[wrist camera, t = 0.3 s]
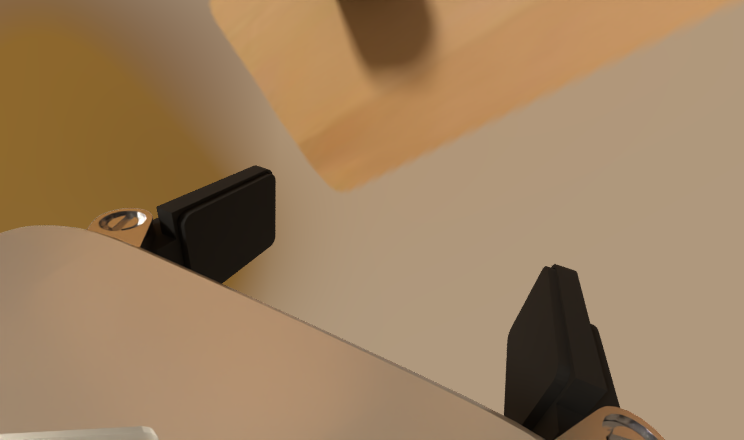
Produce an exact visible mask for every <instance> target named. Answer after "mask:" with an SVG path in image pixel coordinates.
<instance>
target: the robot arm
mask: <svg viewBox="0 0 744 440" xmlns="http://www.w3.org/2000/svg"><path fill="white" fill-rule="evenodd" d="M157 212H158V217H159V218H156V219H154V220H153V216H152V215H151V213H150V212H148V211H146V210H142V209H136V208H126V209H119V210H114V211H110V212H107V213H104V214H102V215H100V216H98V217H97V218H96V219H95V220H94V221H93V222H92V223H91V224H90V226H89V227H88V228H87V229H86V230H85V229H80V228H73V227H63V226H27V227H22V228H17V229H13V230H10V231H6V232H3V233H0V440H665V439H664V438H663V437H662V436H661V435H660V434H659V433H658V432H657V431H656V430H655V429H654V428H653V427H652V426H650V425H649V424H648V423H646V422H645V421H644V420H643V419H641V418H640V417H638V416H636V415H634V414H632V413H631V412H629V411H627V410H624V409H621V408H620V406H619V402H618V399H617V396H616V392H615V388H614V385H613V381H612V377H611V374H610V370H609V367H608V363H607V360H606V356H605V352H604V349H603V345H602V342H601V338H600V335H599V332H598V329H597V327H595V326H594V325H592V324H590V321H589V317H588V313H587V309H586V305H585V301H584V298H583V294H582V290H581V286H580V282H579V279H578V274H577V272H576V271H574V270H571V269H568V268H565V267H562V266H559V265H556V264H554V265H553V266H552V267H551V268H550V267H547V266H545V267H544V268H543V270H542V271H541V273H540V275H539V277H538V279H537V281H536V283H535V284H534V286H533V288H532V290H531V292H530V294H529V296H528V298H527V300H526V301H525V303H524V305H523V307H522V309H521V311H520V313H519V315H518V316H517V318H516V320H515V322H514V324H513V326H512V328H511V329H510V332H509V335H508V343H507V361H506V385H505V405H504V416H503V415H501V414H499V413H497V412H495V411H493V410H491V409H489V408H487V407H485V406H484V405H482V404H479V403H478V402H476V401H474V400H472V399H469V398H468V397H466V396H464V395H462V394H460V393H457V392H455V391H453V390H451V389H449V388H446V387H444V386H442V385H440V384H438V383H436V382H434V381H432V380H430V379H428V378H425V377H424V376H421V375H419V374H417V373H415V372H413V371H411V370H408V369H406V368H404V367H402V366H400V365H398V364H396V363H393V362H391V361H389V360H387V359H385V358H383V357H381V356H378V355H376V354H374V353H372V352H369V351H368V350H365V349H363V348H361V347H359V346H357V345H355V344H353V343H350V342H348V341H346V340H343V339H341V338H339V337H337V336H335V335H333V334H331V333H329V332H327V331H324V330H322V329H320V328H318V327H316V326H313V325H311V324H309V323H307V322H305V321H302V320H300V319H298V318H296V317H294V316H292V315H289V314H287V313H285V312H283V311H281V310H278V309H276V308H274V307H272V306H270V305H267V304H265V303H263V302H261V301H259V300H257V299H254V298H252V297H250V296H248V295H246V294H243V293H241V292H239V291H237V290H234V289H232V288H230V287H228V286H226V285H223V284H222V283H223V282H225V281H226V280H227V279H228V278H230V277H231V276H232V275H234V274H235V273H236V272H238V271H239V270H240V269H241V268H243V267H244V266H245V265H247V264H248V263H249V262H251V261H252V260H253V259H254V258H256V257H257V256H258V255H259V254H261V253H262V252H263V251H265V250H266V249H267V248H269V247H270V246H271V245H272V244H273V242H274V240H275V177H274V175H273V174H272V172H271V171H270V170H268V169H265V168H262V167H259V166H252V167H250V168H247V169H245V170H243V171H241V172H238V173H236V174H233V175H231V176H228V177H226V178H224V179H221V180H219V181H217V182H214V183H212V184H209V185H207V186H205V187H202V188H200V189H198V190H195V191H193V192H190V193H188V194H186V195H183V196H181V197H179V198H176V199H174V200H171V201H169V202H167V203H165V204H162V205H160V206H157Z"/></svg>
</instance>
